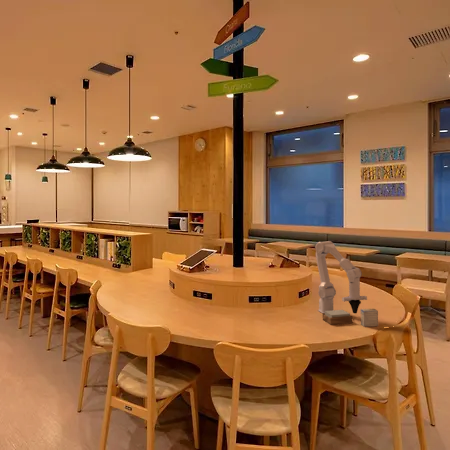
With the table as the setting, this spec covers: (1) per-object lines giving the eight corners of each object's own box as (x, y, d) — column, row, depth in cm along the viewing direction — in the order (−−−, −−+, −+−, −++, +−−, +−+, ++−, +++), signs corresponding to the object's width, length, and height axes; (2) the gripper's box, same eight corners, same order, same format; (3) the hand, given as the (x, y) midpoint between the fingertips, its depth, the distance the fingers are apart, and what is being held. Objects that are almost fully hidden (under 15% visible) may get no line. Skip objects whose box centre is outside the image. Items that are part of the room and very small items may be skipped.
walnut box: (322, 319, 207) (322, 312, 207) (343, 318, 209) (343, 311, 209) (330, 325, 197) (330, 317, 197) (352, 323, 199) (352, 315, 199)
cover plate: (324, 314, 206) (324, 311, 206) (342, 313, 208) (342, 309, 208) (331, 318, 198) (331, 315, 198) (350, 317, 200) (349, 313, 200)
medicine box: (374, 323, 197) (374, 308, 197) (378, 326, 193) (378, 310, 192) (360, 324, 197) (360, 308, 196) (363, 327, 192) (363, 311, 192)
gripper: (346, 291, 199) (346, 315, 200) (370, 290, 202) (370, 313, 202) (340, 289, 206) (340, 312, 207) (363, 287, 209) (363, 310, 209)
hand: (354, 312), depth 205 cm, fingers closed
